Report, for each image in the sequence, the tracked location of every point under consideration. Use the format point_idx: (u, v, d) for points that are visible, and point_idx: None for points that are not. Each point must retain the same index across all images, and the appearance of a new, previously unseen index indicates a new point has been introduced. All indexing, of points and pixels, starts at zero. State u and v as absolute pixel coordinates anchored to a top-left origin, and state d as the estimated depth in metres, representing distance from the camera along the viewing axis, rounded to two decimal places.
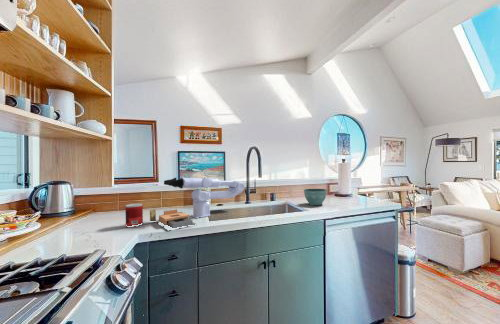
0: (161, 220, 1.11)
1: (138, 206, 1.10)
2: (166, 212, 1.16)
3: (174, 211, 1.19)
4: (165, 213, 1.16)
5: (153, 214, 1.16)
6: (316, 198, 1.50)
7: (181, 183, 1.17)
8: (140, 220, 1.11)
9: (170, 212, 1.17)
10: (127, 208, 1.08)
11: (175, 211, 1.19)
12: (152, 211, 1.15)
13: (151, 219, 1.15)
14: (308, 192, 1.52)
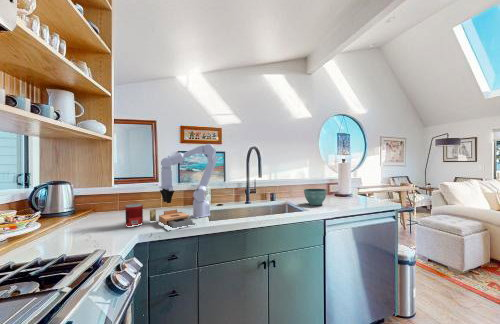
0: (161, 220, 1.11)
1: (138, 206, 1.10)
2: (166, 212, 1.16)
3: (174, 211, 1.19)
4: (165, 213, 1.16)
5: (153, 214, 1.16)
6: (316, 198, 1.50)
7: (169, 191, 1.19)
8: (140, 220, 1.11)
9: (170, 212, 1.17)
10: (127, 208, 1.08)
11: (175, 211, 1.19)
12: (152, 211, 1.15)
13: (151, 219, 1.15)
14: (308, 192, 1.52)
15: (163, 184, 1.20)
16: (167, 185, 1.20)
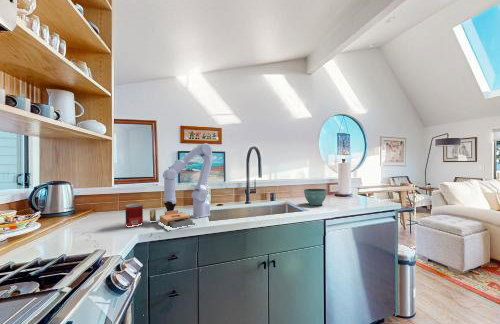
0: (162, 220, 1.10)
1: (138, 206, 1.10)
2: (167, 212, 1.15)
3: (175, 211, 1.18)
4: (166, 213, 1.15)
5: (153, 214, 1.16)
6: (316, 198, 1.50)
7: (171, 204, 1.17)
8: (140, 220, 1.11)
9: (171, 212, 1.16)
10: (127, 208, 1.08)
11: (176, 211, 1.18)
12: (152, 211, 1.15)
13: (151, 219, 1.15)
14: (308, 192, 1.52)
15: (166, 196, 1.16)
16: (170, 197, 1.16)
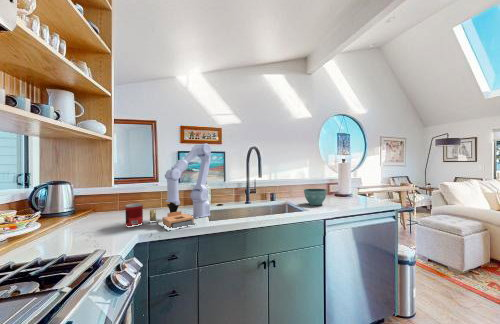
0: (165, 222, 1.06)
1: (138, 206, 1.10)
2: (170, 214, 1.11)
3: (178, 213, 1.14)
4: (169, 215, 1.11)
5: (153, 214, 1.16)
6: (316, 198, 1.50)
7: (174, 205, 1.14)
8: (140, 220, 1.11)
9: (174, 214, 1.13)
10: (127, 208, 1.08)
11: (179, 213, 1.14)
12: (152, 211, 1.15)
13: (151, 219, 1.15)
14: (308, 192, 1.52)
15: (169, 197, 1.12)
16: (174, 198, 1.12)
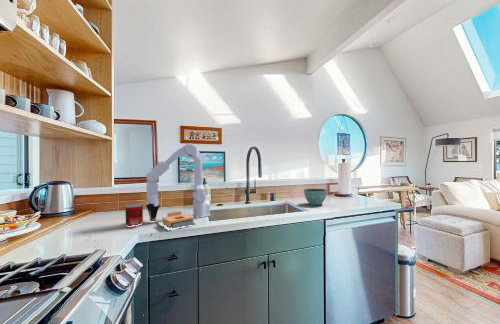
0: (165, 222, 1.06)
1: (138, 206, 1.10)
2: (170, 214, 1.11)
3: (178, 213, 1.14)
4: (169, 215, 1.11)
5: None
6: (316, 198, 1.50)
7: (154, 206, 1.14)
8: (140, 220, 1.11)
9: (174, 214, 1.13)
10: (127, 208, 1.08)
11: (179, 213, 1.14)
12: None
13: (151, 219, 1.15)
14: (308, 192, 1.52)
15: (148, 199, 1.14)
16: (152, 200, 1.14)
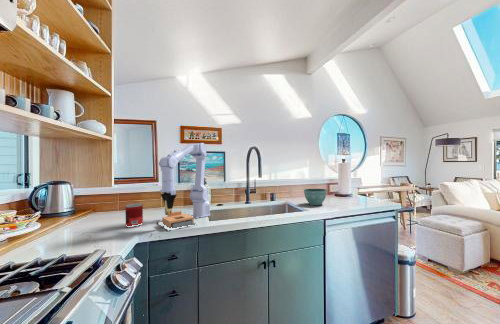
0: (165, 222, 1.06)
1: (138, 206, 1.10)
2: None
3: (178, 213, 1.14)
4: (169, 215, 1.11)
5: None
6: (316, 198, 1.50)
7: (170, 195, 1.03)
8: (140, 220, 1.11)
9: (174, 214, 1.13)
10: (127, 208, 1.08)
11: (179, 213, 1.14)
12: None
13: (166, 210, 1.04)
14: (308, 192, 1.52)
15: (164, 187, 1.03)
16: (169, 188, 1.03)
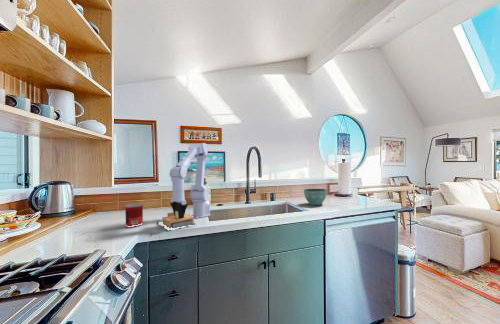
0: (165, 222, 1.06)
1: (138, 206, 1.10)
2: (170, 214, 1.11)
3: None
4: (169, 215, 1.11)
5: None
6: (316, 198, 1.50)
7: (182, 205, 1.05)
8: (140, 220, 1.11)
9: None
10: (127, 208, 1.08)
11: None
12: None
13: None
14: (308, 192, 1.52)
15: (175, 197, 1.06)
16: (179, 198, 1.06)
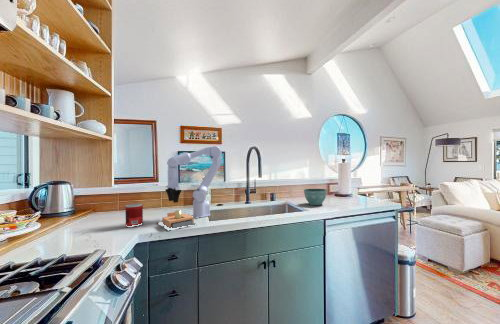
0: (165, 222, 1.06)
1: (138, 206, 1.10)
2: (170, 214, 1.11)
3: None
4: (169, 215, 1.11)
5: (179, 216, 1.07)
6: (316, 198, 1.50)
7: (176, 191, 1.19)
8: (140, 220, 1.11)
9: (174, 214, 1.13)
10: (127, 208, 1.08)
11: None
12: (178, 212, 1.07)
13: None
14: (308, 192, 1.52)
15: (169, 183, 1.20)
16: (173, 184, 1.20)
